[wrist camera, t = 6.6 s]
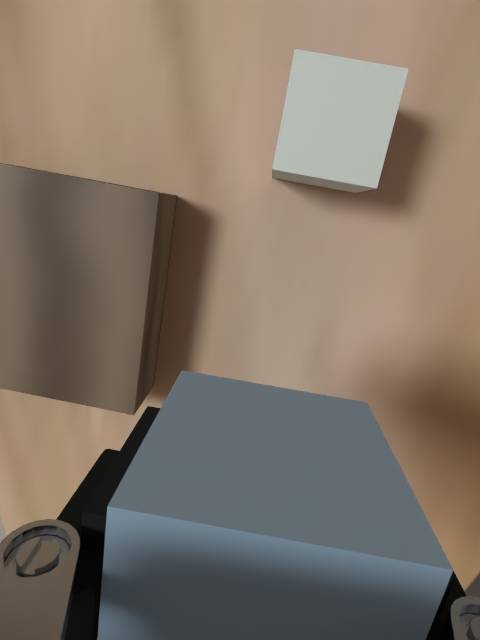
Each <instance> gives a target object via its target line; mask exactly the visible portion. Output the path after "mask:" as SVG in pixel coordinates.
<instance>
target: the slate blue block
mask: <svg viewBox="0 0 480 640" xmlns="http://www.w3.org/2000/svg"><path fill="white" fill-rule="evenodd" d="M452 572H453V569H452V567H451V565H450V563H449V561H448V559H447V557H446V555H445V553H444V551H443V549H442V547H441V545H440V543H439V541H438V539H437V538H436V536H435V534H434V532H433V530H432V528H431V526H430V524H429V522H428V520H427V518H426V516H425V514H424V512H423V510H422V508H421V506H420V505H419V503H418V501H417V499H416V497H415V495H414V493H413V491H412V489H411V487H410V485H409V483H408V481H407V479H406V477H405V475H404V473H403V472H402V470H401V468H400V466H399V464H398V462H397V460H396V458H395V456H394V454H393V452H392V450H391V448H390V446H389V444H388V442H387V440H386V439H385V437H384V435H383V433H382V431H381V429H380V427H379V425H378V423H377V421H376V419H375V417H374V415H373V413H372V411H371V409H370V407H369V406H368V404H367V403H366V402H360V401H354V400H349V399H343V398H337V397H332V396H326V395H320V394H314V393H309V392H303V391H297V390H292V389H286V388H280V387H274V386H269V385H263V384H257V383H252V382H246V381H240V380H234V379H229V378H223V377H217V376H212V375H206V374H200V373H194V372H189V371H183V370H181V372H180V374H179V376H178V378H177V379H176V381H175V383H174V385H173V387H172V389H171V390H170V392H169V394H168V396H167V398H166V400H165V401H164V403H163V405H162V407H161V409H160V411H159V412H158V414H157V416H156V418H155V420H154V422H153V424H152V425H151V427H150V429H149V431H148V433H147V435H146V436H145V438H144V440H143V442H142V444H141V446H140V447H139V449H138V451H137V453H136V455H135V457H134V458H133V460H132V462H131V464H130V466H129V468H128V469H127V471H126V473H125V475H124V477H123V479H122V480H121V482H120V484H119V486H118V488H117V490H116V491H115V493H114V495H113V497H112V499H111V501H110V502H109V504H108V506H107V518H106V531H105V545H104V558H103V571H102V585H101V598H100V611H99V625H98V638H97V640H426V637H427V635H428V632H429V630H430V627H431V625H432V622H433V620H434V617H435V615H436V612H437V610H438V607H439V605H440V602H441V600H442V597H443V595H444V592H445V590H446V587H447V585H448V582H449V580H450V577H451V575H452Z"/></svg>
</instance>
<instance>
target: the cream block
mask: <svg viewBox="0 0 480 640" xmlns="http://www.w3.org/2000/svg"><path fill="white" fill-rule="evenodd" d="M407 73H408V69H407V68H401V67H395V66H389V65H384V64H378V63H372V62H367V61H361V60H355V59H349V58H344V57H338V56H332V55H327V54H321V53H315V52H309V51H304V50H298V49H295V52H294V57H293V62H292V67H291V73H290V78H289V83H288V89H287V94H286V99H285V105H284V110H283V115H282V120H281V126H280V131H279V136H278V142H277V147H276V152H275V158H274V163H273V168H272V178H276V179H282V180H287V181H292V182H298V183H303V184H309V185H314V186H320V187H325V188H331V189H336V190H341V191H347V192H352V193H358V192H363V191H367V190H372V189H377V187H378V183H379V179H380V175H381V171H382V168H383V164H384V160H385V156H386V152H387V149H388V145H389V141H390V137H391V133H392V130H393V126H394V122H395V118H396V114H397V111H398V107H399V103H400V99H401V96H402V92H403V88H404V84H405V80H406V77H407Z"/></svg>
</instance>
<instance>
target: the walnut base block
mask: <svg viewBox="0 0 480 640" xmlns="http://www.w3.org/2000/svg"><path fill="white" fill-rule="evenodd" d="M176 200H177V196H176V195H171V194H165V193H160V192H155V191H149V190H144V189H138V188H133V187H128V186H122V185H117V184H112V183H106V182H101V181H95V180H90V179H85V178H79V177H74V176H68V175H63V174H58V173H52V172H47V171H42V170H36V169H31V168H25V167H20V166H14V165H9V164H3V163H0V388H2V389H7V390H12V391H17V392H22V393H27V394H32V395H37V396H42V397H47V398H52V399H57V400H62V401H67V402H72V403H77V404H82V405H87V406H92V407H97V408H102V409H107V410H112V411H117V412H122V413H127V414H131V415H134V414H135V413H136V411H137V410H138V408H139V407H140V405H141V404H142V402H143V401H144V399H145V398H146V396H147V395H148V393H149V392H150V390H151V389H152V387H153V383H154V375H155V367H156V359H157V351H158V343H159V335H160V327H161V320H162V312H163V304H164V296H165V288H166V280H167V272H168V264H169V256H170V248H171V240H172V232H173V224H174V216H175V208H176Z"/></svg>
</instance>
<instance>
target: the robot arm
mask: <svg viewBox="0 0 480 640" xmlns="http://www.w3.org/2000/svg"><path fill="white" fill-rule="evenodd" d="M159 411H160V408H155V407H149V406H148V407H147V408H146V410H145V411H144V413H143V415H142V416H141V418H140V419H139V421H138V423H137V424H136V426H135V427H134V429H133V431H132V432H131V434H130V436H129V437H128V439H127V440H126V442H125V444H124V445H123V447H122V448H121V450H120V451H117V450H112V449H106V450H104V452H103V453H102V454H101V455H100V457H99V458H98V460H97V461H96V463H95V464H94V466H93V467H92V468H91V470H90V471H89V473H88V474H87V476H86V477H85V479H84V480H83V482H82V483H81V484H80V486H79V487H78V489H77V490H76V492H75V493H74V495H73V496H72V498H71V499H70V500H69V502H68V503H67V505H66V506H65V508H64V509H63V511H62V512H61V514H60V515H59V516H58V518H57V519H56V520H52V519H46V520H39V521H34V522H31V523H28V524H25V525H23V526H21V527H19V528H18V529H16V530H14V531H13V532H11V533H10V534H9V535H8V536H7V537H6V538H4V539H3V540H2V541H1V543H0V640H97V638H98V625H99V611H100V598H101V585H102V571H103V558H104V545H105V531H106V518H107V506H108V504H109V502H110V501H111V499H112V497H113V495H114V493H115V491H116V490H117V488H118V486H119V484H120V482H121V480H122V479H123V477H124V475H125V473H126V471H127V469H128V468H129V466H130V464H131V462H132V460H133V458H134V457H135V455H136V453H137V451H138V449H139V447H140V446H141V444H142V442H143V440H144V438H145V436H146V435H147V433H148V431H149V429H150V427H151V425H152V424H153V422H154V420H155V418H156V416H157V414H158V412H159ZM426 640H480V599H479V598H475V597H466V594H465V592H464V590H463V588H462V586H461V585H460V583H459V581H458V579H457V577H456V575H455V573H454V571H453V572H452V575H451V577H450V580H449V582H448V585H447V587H446V590H445V592H444V595H443V597H442V600H441V602H440V605H439V607H438V610H437V612H436V615H435V617H434V620H433V622H432V625H431V627H430V630H429V632H428V635H427V637H426Z"/></svg>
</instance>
